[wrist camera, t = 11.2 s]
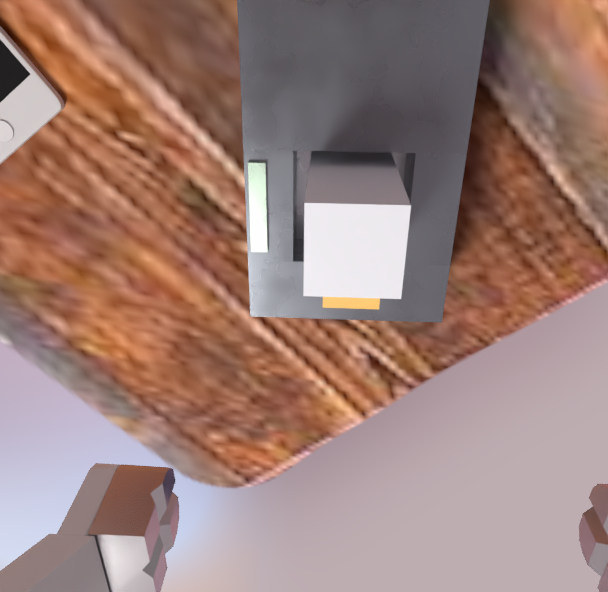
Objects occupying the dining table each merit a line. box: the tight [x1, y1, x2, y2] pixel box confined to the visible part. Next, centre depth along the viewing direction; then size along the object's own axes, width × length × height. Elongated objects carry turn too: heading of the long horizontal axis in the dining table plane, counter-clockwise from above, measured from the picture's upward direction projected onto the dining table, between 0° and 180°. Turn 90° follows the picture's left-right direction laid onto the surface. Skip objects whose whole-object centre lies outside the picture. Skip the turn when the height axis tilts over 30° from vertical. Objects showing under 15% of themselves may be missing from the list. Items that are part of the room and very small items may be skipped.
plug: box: [303, 151, 411, 309], centre depth 25 cm, size 5×4×8 cm
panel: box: [237, 0, 490, 322], centre depth 25 cm, size 24×10×4 cm, turn 179°
